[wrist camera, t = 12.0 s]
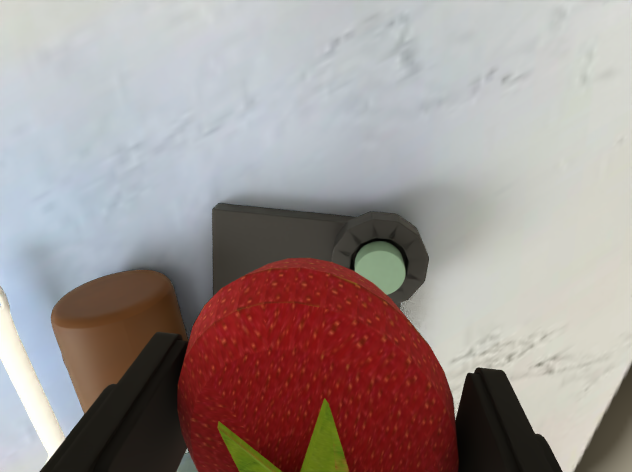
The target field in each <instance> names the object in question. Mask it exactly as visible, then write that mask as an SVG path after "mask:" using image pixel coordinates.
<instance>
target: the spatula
mask: <svg viewBox="0 0 632 472" xmlns="http://www.w3.org/2000/svg"><path fill="white" fill-rule="evenodd" d="M0 301H1V306H0V358H1V360H2V362H3V364H4V366H5V368H6V370H7V372H8V374H9V376H10V378H11V380H12V382H13V384H14V386H15V388H16V391H17V393H18V395H19V397H20V399H21V401H22V403H23V405H24V407H25V409H26V411H27V413H28V415H29V417H30V419H31V421H32V423H33V425H34V427H35V429H36V431H37V433H38V435H39V437H40V439H41V441H42V443H43V445H44V447H45V449H46V451H47V452H48V454H49V457H48V459H47V461H46V463H47V462H48V460H49V459H50V458H51V457H52V455H53V454H54V453H55V451H56V450H57V449H58V448H59V446H60V445H61V444H62V442H63V441H64V440H65V439H66V438H65V436H64V434H63V432H62V430H61V427H60V425H59V423H58V421H57V419H56V417H55V415H54V412H53V410H52V408H51V406H50V404H49V402H48V400H47V397H46V395H45V393H44V391H43V389H42V387H41V384H40V382H39V380H38V378H37V376H36V373H35V371H34V369H33V367H32V364H31V362H30V360H29V358H28V356H27V353H26V351H25V349H24V347H23V344H22V342H21V340H20V338H19V336H18V333H17V330H16V328H15V325H14V322H13V320H12V317H11V314H10V306H9V303H8V300H7V297H6V294H5V293H4V291H3V289H2V288H1V286H0ZM46 463H45V464H46Z"/></svg>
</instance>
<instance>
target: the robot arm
mask: <svg viewBox="0 0 632 472" xmlns="http://www.w3.org/2000/svg"><path fill="white" fill-rule="evenodd" d="M187 346H188V341H183V338H182V335H181V334H174V333H165V332H156V333H155V334H154V335H153V337H152V338H151V339H150V341H149V342H148V343H147V345H146V346H145V347H144V349H143V350H142V351H141V353H140V354H139V355H138V357H137V358H136V359H135V361H134V362H133V363H132V365H131V366H130V367H129V369H128V370H127V371H126V372H125V374H124V375H123V376H122V378H121V379H120V380H119V382H118V383H117V384H110V385H108V386H107V387H106V388H105V389H104V390H103V391H102V393H101V394H100V395H99V397H98V398H97V399H96V400H95V402H94V403H93V404H92V405H91V407H90V408H89V409H88V411H87V412H86V413H85V414H84V416H83V417H82V418H81V420H80V421H79V422H78V423H77V425H76V426H75V427H74V428H73V430H72V431H71V432H70V434H69V435H68V436H67V437H66V439H65V440H64V441H63V442H62V444H61V445H60V446H59V448H58V449H57V450H56V451H55V453H54V454H53V455H52V457H51V458H50V459H49V460H48V462H47V463H46V464H45V465H44V467H43V468H42V469H41V471H40V472H177V469H178V467H179V465H180V463H181V460H182V458H183V456H184V454H185V451H186V449H187V445H186V443H185V440H184V438H183V435H182V432H181V426H180V421H179V416H178V411H177V392H178V381H179V377H180V373H181V369H182V366H183V362H184V358H185V354H186V350H187ZM455 423H456V434H457V446H458V457H459V466H458V472H562V470H561V468H560V466H559V464H558V462H557V460H556V458H555V456H554V454H553V452H552V450H551V448H550V446H549V444H548V443H547V441H546V440H545V438H544V437H543V436H541V435H540V434H535V433H534V431H533V429H532V427H531V425H530V423H529V421H528V419H527V417H526V415H525V413H524V411H523V409H522V407H521V405H520V403H519V401H518V398H517V396H516V394H515V392H514V390H513V388H512V386H511V384H510V382H509V380H508V378H507V376H506V374H505V373H504V371H502V370H496V369H487V368H476V370H475V372H474V373H468V374H467V376H466V379H465V383H464V387H463V392H462V396H461V400H460V404H459V408H458V413H457V417H456V421H455Z"/></svg>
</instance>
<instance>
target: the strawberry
mask: <svg viewBox="0 0 632 472" xmlns="http://www.w3.org/2000/svg"><path fill="white" fill-rule="evenodd" d="M177 411H178V416H179V421H180V426H181V432H182V435H183V438H184V440H185V443H186V445H187V448H188V451H189V453H190V456H191V458H192V460H193V462H194V464H195V467H196V469H197V471H198V472H458V466H459V457H458V446H457V434H456V423H455V413H454V403H453V396H452V393H451V391H450V388H449V385H448V382H447V379H446V376H445V373H444V371H443V369H442V367H441V365H440V363H439V362H438V360H437V358H436V356H435V354H434V353H433V351H432V349H431V347H430V346H429V344H428V343H427V342H426V341H425V339H424V338H423V337H422V336H421V335H420V333H419V332H418V331H417V330H416V328H415V327H414V326H413V325H412V324H411V322H410V321H409V320H408V319H407V317H406V316H405V315H404V314H403V313H402V311H401V310H400V309H399V308H398V307H397V305H396V304H395V303H394V302H393V301H392V299H391V298H390V297H388V296H387V295H386V294H385V293H384V292H383V291H382V290H381V289H379V288H378V287H377V286H376V285H375V284H374V283H372V282H371V281H369V280H368V279H366V278H364V277H363V276H361V275H360V274H358V273H356V272H355V271H353V270H351V269H348V268H346V267H343V266H340V265H338V264H335V263H333V262H329V261H324V260H318V259H313V258H288V259H284V260H280V261H277V262H273V263H269V264H267V265H265V266H263V267H261V268H258V269H256V270H254V271H252V272H250V273H248V274H246V275H244V276H242V277H240V278H239V279H237V280H235V281H233V282H232V283H230V284H228V285H226V286H225V287H223V288H221V289H220V290H219V291H218V292H217V293H216V294H215V295H214V296H213V297H212V298H211V299H210V300H209V301H208V302H207V303H206V304H205V305H204V307H203V309H202V311H201V312H200V314H199V316H198V318H197V319H196V321H195V323H194V325H193V327H192V331H191V335H190V338H189V342H188V346H187V350H186V354H185V358H184V362H183V366H182V369H181V373H180V377H179V381H178V392H177Z"/></svg>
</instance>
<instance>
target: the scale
mask: <svg viewBox="0 0 632 472" xmlns="http://www.w3.org/2000/svg"><path fill="white" fill-rule="evenodd" d="M212 235H213V296H214V295H215V294H216V293H217V292H218V291H219V290H220V289H221V288H223V287H225V286H226V285H228V284H230V283H232V282H233V281H235V280H237V279H239V278H240V277H242V276H244V275H246V274H248V273H250V272H252V271H254V270H256V269H258V268H261V267H263V266H265V265H267V264H269V263H273V262H277V261H280V260H284V259H288V258H313V259H318V260H324V261H329V262H333V263H335V264H338V265H340V266H343V267H346V268H348V269H351V270H353V271H355V258H356V255H357V253H358V251H359V250H360V249H361V248H362V247H363V246H365V245H366V244H368V243H371V242H374V241H384V242H388V243H390V244H392V245H394V246H395V247H396V248H397V249H398V250H399V251H400V253H401V255H402V257H403V262H404V266H405V272H406V274H405V279H404V282H403V283H402V285H401V286H400V287H399V288H398V289H397V290H396V291H394V292H393V293H391V294H388V295H387V296H388V297H390V298H391V299H392V301H393V302H394V303H395V304H396V305H397V307H398V308H399V309H400V306H401V302H403V301H406V300H408V299H409V298H410V297H411V296H412V295H413V294H414V293H415V292H416V290H417V289H418V288H419V287H420V286H421V285H422V284H423V283H424V281H425V278H426V272H427V267H428V262H429V257H428V254H427V251H426V249H425V246H424V244H423V241H422V239H421V237H420V234H419V232H418V230H417V228H416V227H415V226H413V225H412V224H411V223H410V222H408V221H406V220H405V219H403V218H402V217H401V216H399V215H397V214H394V213H384V212H374V211H372V212H371V211H370V212H368V213H366V214H363V215H361V216H358V217H351V216H341V215H331V214H321V213H311V212H301V211H291V210H281V209H271V208H261V207H251V206H241V205H231V204H221V203H218V204H217V205H216V206H215V207H214V208H213V209H212Z"/></svg>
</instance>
